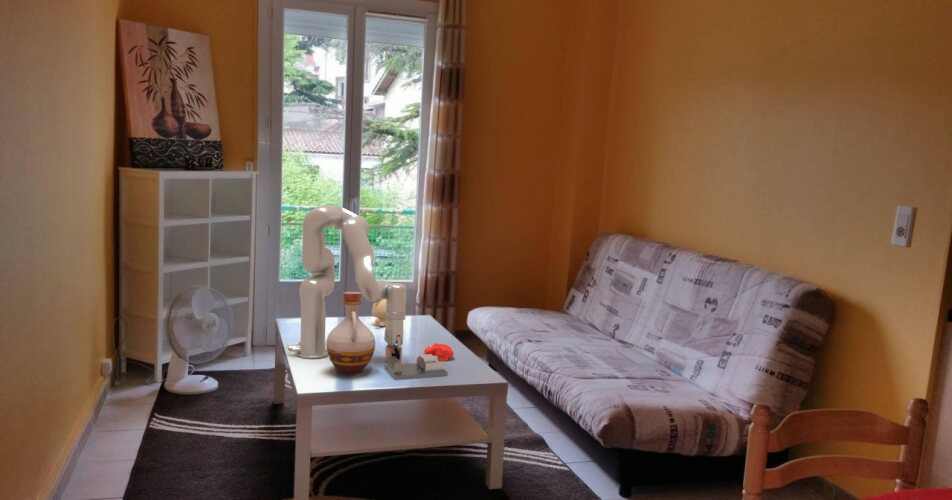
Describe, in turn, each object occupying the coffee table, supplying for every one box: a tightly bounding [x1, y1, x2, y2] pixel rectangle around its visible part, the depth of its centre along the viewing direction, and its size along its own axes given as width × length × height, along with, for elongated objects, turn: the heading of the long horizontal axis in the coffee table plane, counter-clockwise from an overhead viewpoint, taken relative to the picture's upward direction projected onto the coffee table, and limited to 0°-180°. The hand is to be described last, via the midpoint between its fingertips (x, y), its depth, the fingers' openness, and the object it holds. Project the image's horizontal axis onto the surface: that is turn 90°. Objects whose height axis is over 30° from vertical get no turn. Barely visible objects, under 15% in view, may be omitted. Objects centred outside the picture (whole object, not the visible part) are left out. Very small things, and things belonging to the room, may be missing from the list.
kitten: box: [371, 299, 387, 327], centre depth 338 cm, size 15×10×15 cm
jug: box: [325, 291, 376, 376], centre depth 260 cm, size 20×18×30 cm
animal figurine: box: [424, 342, 455, 362], centre depth 290 cm, size 12×15×5 cm
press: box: [384, 356, 448, 381], centre depth 266 cm, size 20×14×6 cm
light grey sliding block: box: [418, 354, 437, 370], centre depth 268 cm, size 5×6×4 cm
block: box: [384, 344, 403, 363], centre depth 277 cm, size 5×5×6 cm
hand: (393, 360), depth 277 cm, fingers closed on block, 5 cm apart
